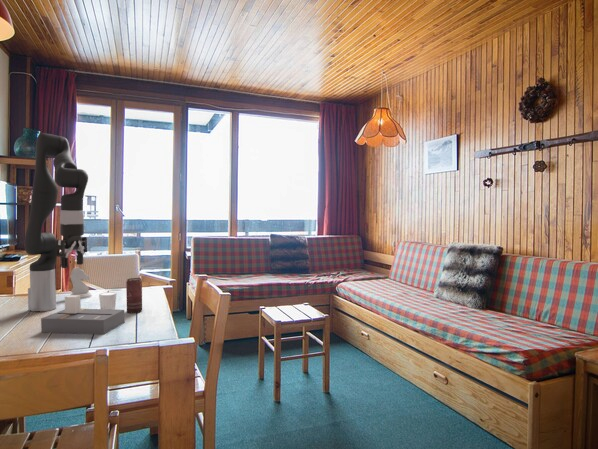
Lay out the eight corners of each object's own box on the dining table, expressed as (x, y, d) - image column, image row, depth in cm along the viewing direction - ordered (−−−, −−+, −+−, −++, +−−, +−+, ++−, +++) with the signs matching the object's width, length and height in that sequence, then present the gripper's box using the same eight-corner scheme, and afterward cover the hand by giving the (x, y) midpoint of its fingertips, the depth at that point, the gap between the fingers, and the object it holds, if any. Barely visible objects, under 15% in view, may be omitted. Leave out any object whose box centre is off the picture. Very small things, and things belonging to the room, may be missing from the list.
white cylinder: (120, 308, 172) (120, 292, 172) (108, 312, 166) (107, 295, 166) (108, 307, 175) (107, 291, 174) (95, 310, 168) (95, 294, 168)
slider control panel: (41, 332, 139) (41, 318, 139) (67, 321, 153) (67, 308, 152) (103, 334, 137) (103, 319, 137) (124, 322, 151) (124, 309, 151)
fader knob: (65, 318, 144) (64, 296, 143) (70, 316, 147) (70, 295, 146) (75, 318, 143) (75, 297, 143) (80, 316, 146) (80, 295, 146)
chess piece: (92, 297, 192) (91, 267, 192) (68, 300, 187) (68, 269, 187) (91, 294, 201) (90, 265, 200) (68, 296, 196) (68, 266, 195)
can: (137, 313, 164) (136, 280, 163) (123, 312, 165) (123, 279, 164) (145, 310, 170) (145, 278, 169) (132, 309, 171) (132, 277, 170)
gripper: (75, 221, 153) (75, 263, 154) (48, 223, 139) (49, 268, 139) (93, 222, 152) (93, 263, 153) (68, 223, 138) (69, 269, 139)
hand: (72, 266), depth 146 cm, fingers open, 8 cm apart
